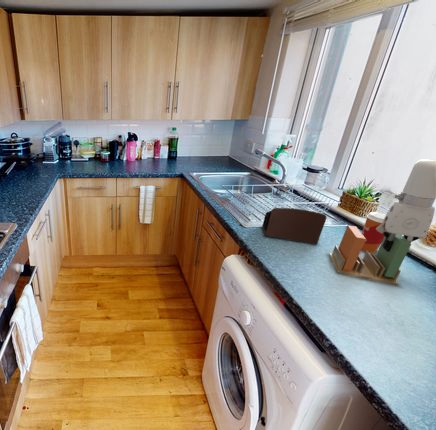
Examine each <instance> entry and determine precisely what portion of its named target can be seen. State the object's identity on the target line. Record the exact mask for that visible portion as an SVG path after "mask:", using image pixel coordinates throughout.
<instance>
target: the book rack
mask: <svg viewBox="0 0 436 430" xmlns="http://www.w3.org/2000/svg"><path fill="white" fill-rule="evenodd" d="M328 256H329V258H330V260H331V263H332V264H333V266H334V268H335V270H336V273H337V274H339V275H343V276H344V275H345V276H349V277H353V278H359V279H363V280H368V281H374V282H378V283H382V284H387V285H392V286H397V287H398V286H399V284H400V282H399V281H398V280H397V279H398V278H399V276H400V274H401V272H402V271H401V269H399V270H398V272H397V274H396V276H395V278H392V277H386V276H384V275H383V272H384V270H385V267H384V266H383V265H382V263H381V262H380V261H379V259H378V258H377V257H376V254H375V253H373V252H371V253H369V252H368V251H366V252H365V253H364V255H363V257H361V256H360V255H359V256H358V258H357V261H356V263H355V265H354V267H353V270H352V271H347V270H343V269H342V268H343V265H344V263H345V259H344V257H343V255H342V254H341V252H340V250H339V246H338V245H335V246H334V248H333V250H332V252H329V253H328Z"/></svg>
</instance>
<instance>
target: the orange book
mask: <svg viewBox="0 0 436 430" xmlns="http://www.w3.org/2000/svg"><path fill="white" fill-rule="evenodd" d="M365 240H366V238H365V237H364V236H363V235H362V231H361V230H360V229H359V228H358V227H357V226H355V225H349V224H348V225H347V226H346V228H345V230H344V233H343V235H342V238H341V240H340V243H339V245H338V248H339V250H340V252H341V254H342V255H343V257H344V259H345V263H344V265H343V268H342V269H343V270H347V271H352V270H353V267H354V265H355V263H356V261H357V258H358V256H360V254H361V252H362V250H361V249H362V247H363V245H364V243H365Z"/></svg>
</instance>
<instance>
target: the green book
mask: <svg viewBox="0 0 436 430" xmlns="http://www.w3.org/2000/svg"><path fill="white" fill-rule="evenodd" d="M403 236H404V235H399V234H396V235H395V237H394V239H393V242H394V243H393V245H392V247H391V249H390V251H389V252H387V251H386V250H385V249H384V248H383V243H384V241H385V239H386V237H385V236H384V239H383V241H382V243H381V244H380V246H379V248H378V250H377V251H376V254H375V256H376V257H377V258H378V259H379V261H380V262H381V263H382V265H383V266H384V267H385V270H384V272H383V275H384V276H386V277H392V278H395V276H396V274H397V272H398V270H400V268H401V266H402V264H403V262H404V260H405V258H406V256H407V254H408V252H409V250H410V248H411V246H412V244H411V243H412V242H411V243H410V242H408V241H407V240H406V239H405V238H404V237H403Z"/></svg>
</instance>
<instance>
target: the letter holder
mask: <svg viewBox="0 0 436 430" xmlns="http://www.w3.org/2000/svg"><path fill="white" fill-rule="evenodd" d="M326 221H327V215H326V214H324V213H320V212H317V211H311V210H306V209H300V208H289V207H273V208H272V209H271V210H269V211H267V212H265V215H264V219H263V221H262V226H261V228H262V230H263V234H264V237H268V238H275V239H281V240H286V241H293V242H298V243H305V244H311V245H316V246H317V245H318V243H319V240H320V237H321V235H322V232H323V229H324V226H325V224H326Z"/></svg>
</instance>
